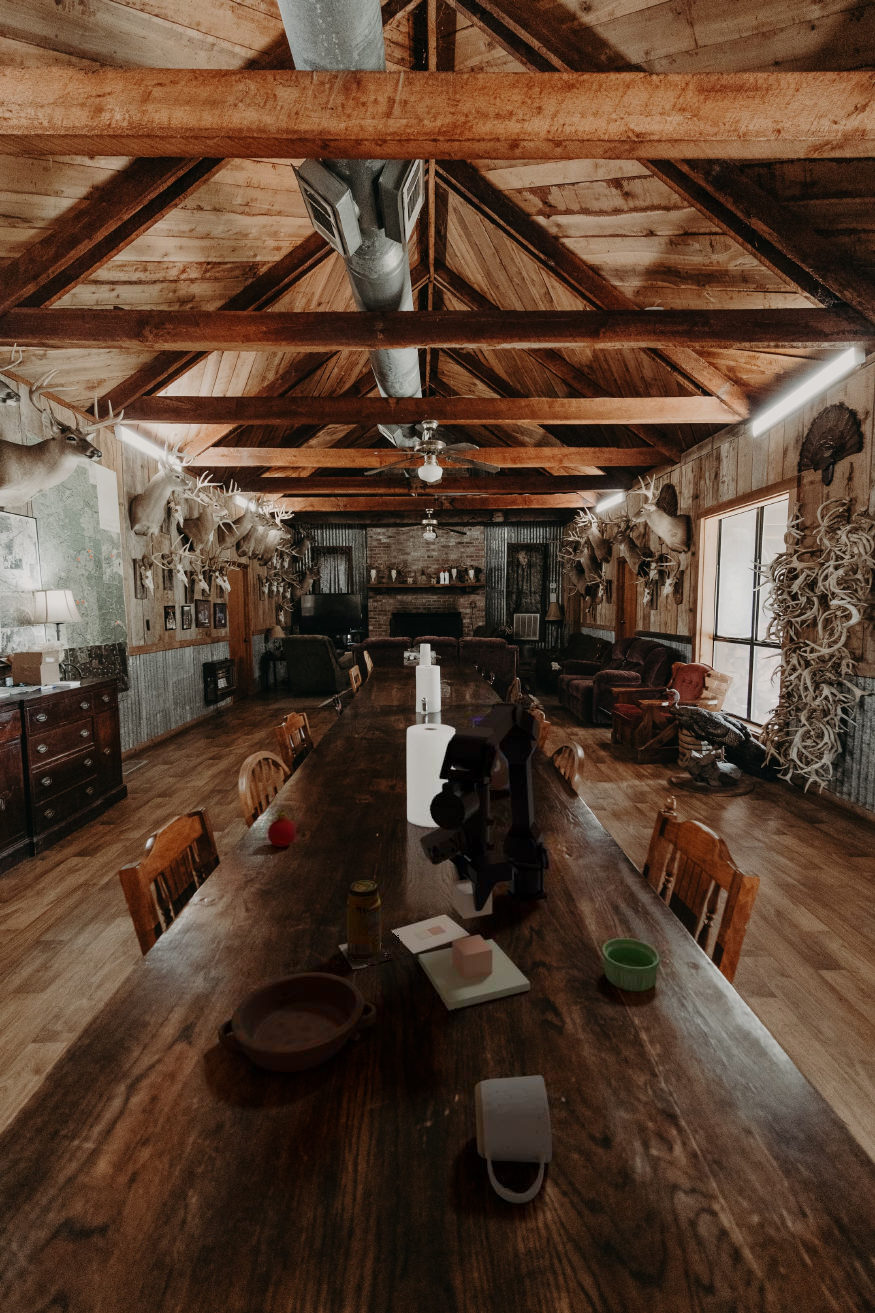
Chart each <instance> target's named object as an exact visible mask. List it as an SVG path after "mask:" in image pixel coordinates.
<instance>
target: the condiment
mask: <svg viewBox="0 0 875 1313" xmlns="http://www.w3.org/2000/svg"><path fill="white" fill-rule="evenodd" d="M381 902H382V901H381V899H380V896H379V885H378V883H377V882H375V881H372V880H366V879H365V880H358V881H355V882H352V884H351V885H349V887H348V900H347V902H346V938H347V939H346V940H347V942H346V943H344V944H339V945H338V948H339V949H340V951H341V952H342V954H343V956H344V957H345V959H346V960H347V962H348V965H350V967H351V969H352V970H356V969H357V970H358V969H364V968H367V966H368V965H369V964H368V965H366V964H362V963H364V962H363V961H364V960H362V961H359V960H356V961H358V962H360V963H358V962H356V961H354V960H352V958H353V959H368V958H371V957H373V956H375V955H377V954H378V953H379V952H380V950H381V944H382V905H381ZM385 954H387V953H385ZM385 956H386V955H385ZM350 957H352V958H350ZM366 961H367V960H366ZM361 965H363V966H361ZM368 967H369V966H368Z"/></svg>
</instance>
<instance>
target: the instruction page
mask: <svg viewBox="0 0 875 1313" xmlns="http://www.w3.org/2000/svg"><path fill="white" fill-rule="evenodd" d="M391 931H392V932H391V933H392V934H393V933H394V934H395V935H396V936H397V935H399V936H397V937H399V939H400V940H399V939H398V940H399V942H401V941H402V942H401V944H403V945H404V947H406V949H407V950H409V951H410V952H411V953H412V954H413V955H415V954H418V953H421V952H424V951H427V950H430V949H433V948H435V947H440V946H442V945H445V944H449V943H451V942H452V940H457V939H461V938H466V937H470V936H471V934H470V933H468V931H466V930H465V929H464V928H463V927H461V926H460V925H459V924H457V922H455V921H454V920H453V919H452V918H450V917H449V916H448V915H446V914H442V915H439V916H435V917H432V918H429V919H428V918H427V919H424V920H422V921H418V922H416V923H412V924H409V925H405V926H402V927H398V928H395V929H393V930H392V929H391ZM394 934H393V935H394ZM395 935H394V936H395ZM396 936H395V937H396ZM397 937H396V938H397Z"/></svg>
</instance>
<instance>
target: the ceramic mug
mask: <svg viewBox="0 0 875 1313" xmlns="http://www.w3.org/2000/svg"><path fill="white" fill-rule="evenodd" d="M474 1104H475V1105H474V1107H475V1123H476V1124H475V1126H476V1144H477V1146H476V1147H477V1153H478V1155H479V1156H480V1157H481V1158H482V1159H486V1161H487V1163H486V1164H487V1172H488V1177H489V1179H490V1180H489V1181H490V1183H491V1186H492V1187H493V1189H494V1191H495V1192H496V1193H497V1194H498V1196H500V1198H502V1199H504V1200H505V1201H507V1202H510V1203H514V1204H523V1203H527V1202H530V1201H531V1200H533V1199H534V1197H535V1196H536V1195H537V1194H538V1193H539V1191H540V1189H541V1186H542V1184H543V1179H544V1173H545V1172H544V1170H545V1164H546V1163H550V1162H551V1161H552V1155H553V1148H552V1147H553V1145H552V1144H553V1143H552V1142H553V1141H552V1128H551V1118H550V1110H549V1109H550V1108H549V1102H548V1094H547V1090H546V1084H545V1080H544V1077H543V1076H542V1075H540V1074H539V1075H529V1076H525V1075H524V1076H514V1077H503V1078H491V1079H490V1078H489V1079H486V1080H482V1081H480V1082H479V1081H478V1082H477V1083H476V1085H475V1086H474ZM492 1161H495V1162H520V1163H522V1162H523V1163H539V1170H538V1173H537V1174H538V1175H537V1177H536V1179H535V1180H534V1182H533V1184H532V1185H531V1186H530V1188H529V1189H528V1190H527V1191H525V1192H523V1193H521V1192H520V1193H519V1192H515V1191H512V1190H511V1189H509V1188H506V1187H504V1186H503V1185H502V1184H501V1183H500V1182H499V1181H498V1180H497V1178H496V1176H495V1174H494V1168H493V1165H492Z"/></svg>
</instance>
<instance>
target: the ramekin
mask: <svg viewBox="0 0 875 1313" xmlns="http://www.w3.org/2000/svg"><path fill="white" fill-rule="evenodd" d="M602 956H603V963H604V964H603V965H604V974H605V977H606V979H607V980H608V981H609V982H610V983H611V984H612V985H614V986H615V987H617V988H619V989H621V990H625V991H628V992H645V991H647V990H650V989H652V988H653V987H654V986H655V984H656V982H657V973H658V966H659V963H660V955H659V952H658V951H657V950H656V949H655V948H654V947H653V946H651V945H650V944H648V943H647V942H644V941H641V940H640V939H639V940H638V939H634V938H627V937H626V938H625V937H619V938H613V939H610V940H607V941H606V942H604V944H603V946H602Z"/></svg>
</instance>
